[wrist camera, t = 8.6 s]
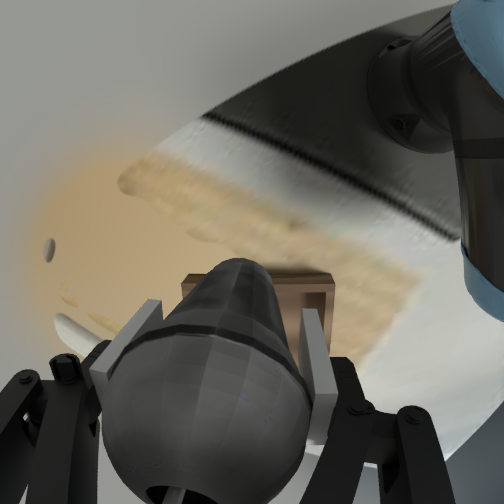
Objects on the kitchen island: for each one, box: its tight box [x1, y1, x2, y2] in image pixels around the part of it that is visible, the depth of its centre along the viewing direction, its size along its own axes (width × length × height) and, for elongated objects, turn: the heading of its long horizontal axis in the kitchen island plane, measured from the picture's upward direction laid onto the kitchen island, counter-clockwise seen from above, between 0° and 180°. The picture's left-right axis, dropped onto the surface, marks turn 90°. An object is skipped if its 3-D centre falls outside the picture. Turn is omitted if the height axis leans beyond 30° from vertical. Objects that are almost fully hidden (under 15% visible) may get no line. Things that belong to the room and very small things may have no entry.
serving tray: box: [181, 274, 335, 370], centre depth 41 cm, size 18×18×4 cm
